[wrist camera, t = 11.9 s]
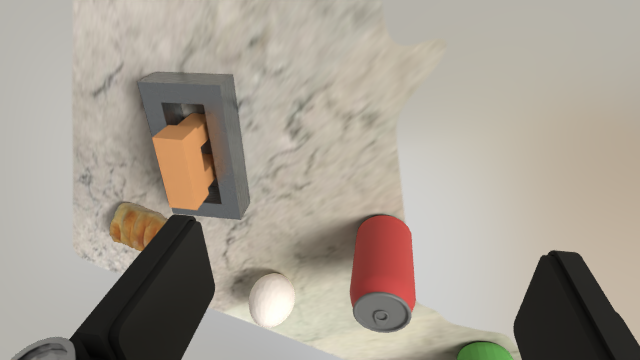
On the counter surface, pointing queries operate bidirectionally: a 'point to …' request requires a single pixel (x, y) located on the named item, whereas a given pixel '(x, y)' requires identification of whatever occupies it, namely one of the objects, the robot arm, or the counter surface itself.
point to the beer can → (383, 275)
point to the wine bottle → (483, 352)
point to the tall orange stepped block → (185, 162)
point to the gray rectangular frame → (223, 126)
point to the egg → (271, 300)
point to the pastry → (135, 225)
